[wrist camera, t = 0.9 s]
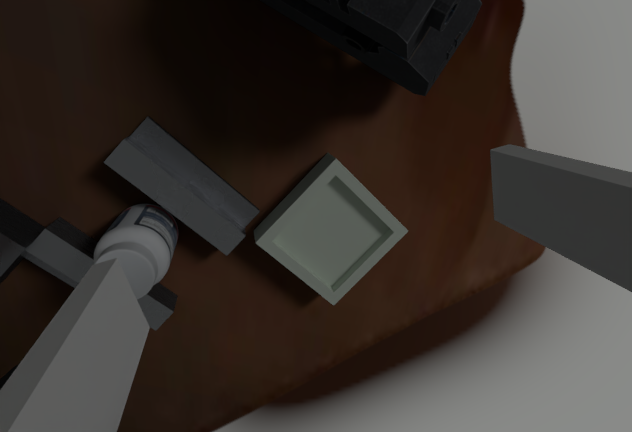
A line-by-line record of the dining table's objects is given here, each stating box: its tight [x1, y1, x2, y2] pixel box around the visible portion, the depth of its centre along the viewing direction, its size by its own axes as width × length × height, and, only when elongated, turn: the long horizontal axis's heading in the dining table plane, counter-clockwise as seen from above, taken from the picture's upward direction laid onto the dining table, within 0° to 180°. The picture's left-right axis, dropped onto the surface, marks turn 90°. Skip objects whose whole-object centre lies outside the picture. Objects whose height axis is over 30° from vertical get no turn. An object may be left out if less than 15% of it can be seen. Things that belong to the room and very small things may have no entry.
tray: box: [254, 153, 408, 305], centre depth 36 cm, size 10×10×3 cm
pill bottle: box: [94, 204, 179, 299], centre depth 30 cm, size 5×5×9 cm
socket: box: [24, 116, 260, 330], centre depth 33 cm, size 12×16×3 cm
